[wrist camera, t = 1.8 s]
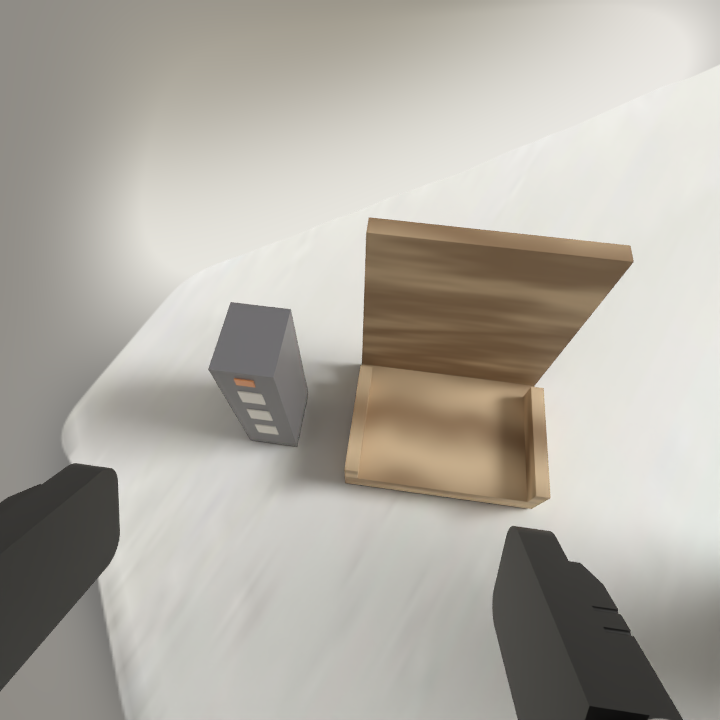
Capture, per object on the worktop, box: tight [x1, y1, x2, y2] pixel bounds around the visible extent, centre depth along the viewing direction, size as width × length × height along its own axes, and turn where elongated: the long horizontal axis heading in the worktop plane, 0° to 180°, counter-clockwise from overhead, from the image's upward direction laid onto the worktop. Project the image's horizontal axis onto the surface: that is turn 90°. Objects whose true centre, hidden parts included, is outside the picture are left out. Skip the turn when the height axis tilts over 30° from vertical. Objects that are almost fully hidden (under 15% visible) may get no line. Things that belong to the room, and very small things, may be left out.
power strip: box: [209, 302, 308, 446], centre depth 34 cm, size 5×4×13 cm
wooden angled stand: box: [344, 218, 633, 509], centre depth 32 cm, size 11×15×18 cm
